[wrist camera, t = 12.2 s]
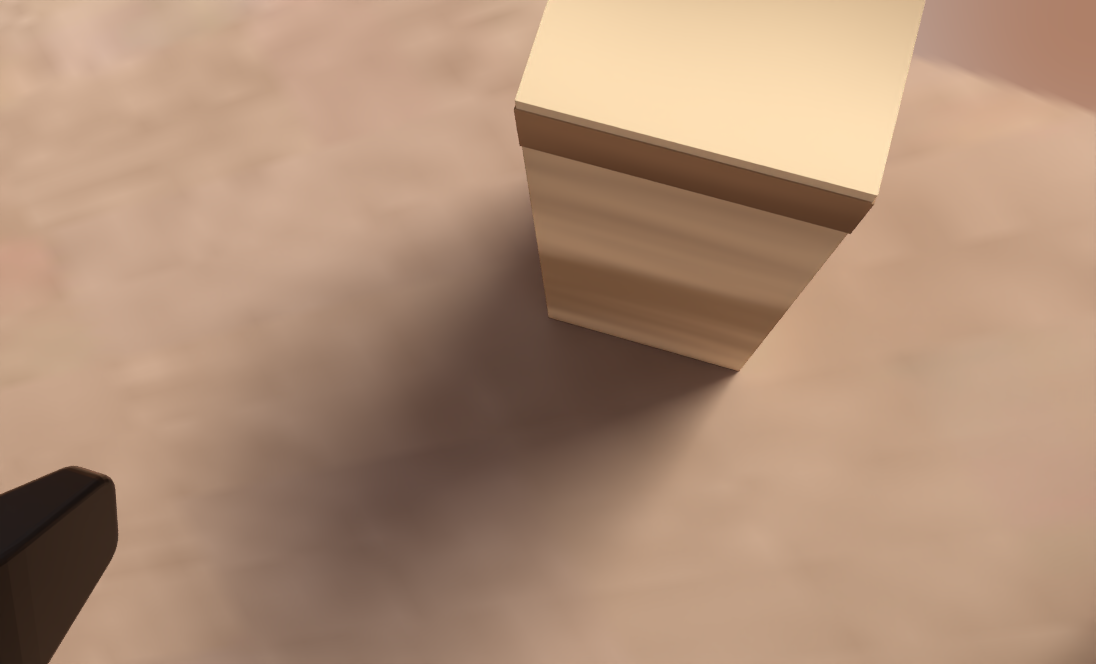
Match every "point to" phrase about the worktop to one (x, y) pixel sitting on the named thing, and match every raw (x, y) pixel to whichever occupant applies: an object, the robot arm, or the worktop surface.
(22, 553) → the robot arm
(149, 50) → the worktop surface
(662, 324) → the pale gold square block
